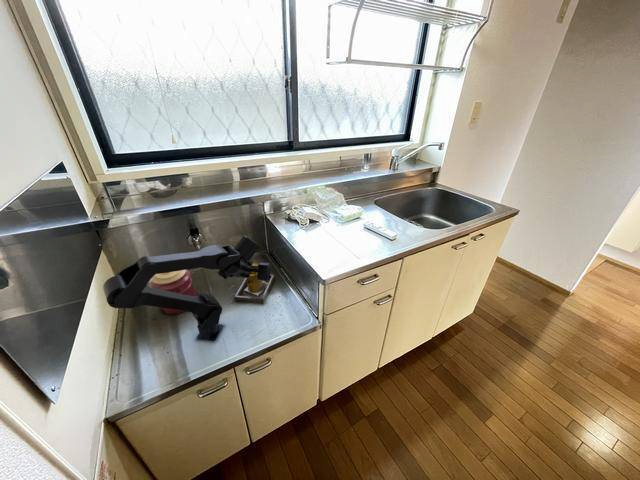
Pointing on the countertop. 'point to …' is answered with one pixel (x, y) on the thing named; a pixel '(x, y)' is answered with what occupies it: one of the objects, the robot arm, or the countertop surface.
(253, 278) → the condiment
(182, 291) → the kitchen canister
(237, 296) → the tray
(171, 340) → the countertop surface
